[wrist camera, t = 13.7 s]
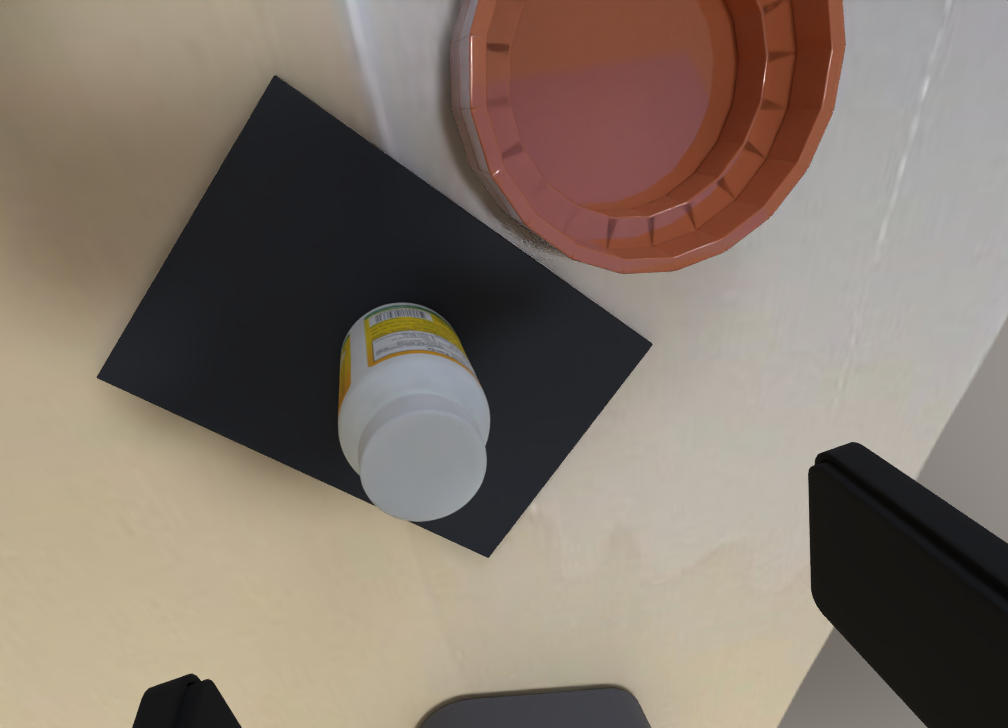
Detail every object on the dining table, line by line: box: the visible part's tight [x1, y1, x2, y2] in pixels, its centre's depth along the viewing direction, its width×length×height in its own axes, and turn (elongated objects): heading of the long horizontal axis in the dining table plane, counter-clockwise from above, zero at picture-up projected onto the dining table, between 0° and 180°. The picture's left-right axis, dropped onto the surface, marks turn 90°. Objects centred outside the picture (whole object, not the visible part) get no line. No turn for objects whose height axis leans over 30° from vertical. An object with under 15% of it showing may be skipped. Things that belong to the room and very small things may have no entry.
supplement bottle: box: [338, 303, 490, 522], centre depth 24 cm, size 5×5×10 cm
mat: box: [97, 76, 653, 558], centre depth 29 cm, size 20×14×1 cm
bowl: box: [450, 0, 846, 274], centre depth 25 cm, size 14×14×4 cm
